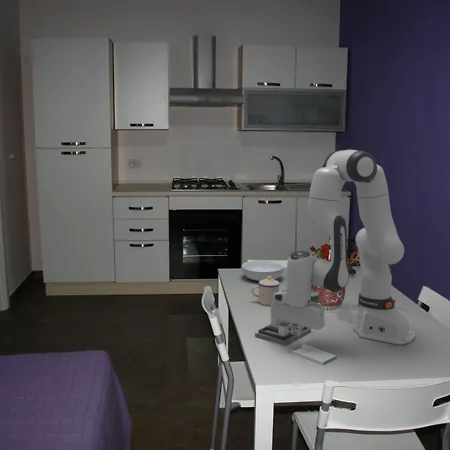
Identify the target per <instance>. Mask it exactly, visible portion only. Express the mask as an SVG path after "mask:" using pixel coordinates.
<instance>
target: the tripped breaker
mask: <svg viewBox="0 0 450 450" xmlns="http://www.w3.org/2000/svg"><path fill="white" fill-rule="evenodd" d="M288 333H289V323H285V322H282V323H280V324H279V329H278V335H279V336H283V337H285V336H287V335H288Z"/></svg>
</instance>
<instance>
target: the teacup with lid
mask: <svg viewBox="0 0 450 450" xmlns="http://www.w3.org/2000/svg"><path fill="white" fill-rule="evenodd" d="M280 285H281V284H280V282H279V280H277V279H275V280H274V279H272V277H271V276H267V278H266V279H264V280H260V281H258V285H254V286H252V288H251V294H252V296H253V297H255V298H258V303H259V304H260V305H264V306H271V304H272V301H273V300H274V299H273V294H275V293H277V292H279V291H280ZM255 289H258V294H255V293H254V290H255Z"/></svg>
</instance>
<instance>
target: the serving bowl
mask: <svg viewBox="0 0 450 450" xmlns="http://www.w3.org/2000/svg"><path fill="white" fill-rule="evenodd" d="M284 269H285V267H284V265H283V264H281V263H280V262H276V261H272V260H271V261H269V260H251V261H246V262H244V263H242V265H241V271H242V273H243V275H244V276H245V277H246V278H247V279H250V280H252V281H257V282H259V281H260V280H264V279H266V278H267V276H271V277H272V279H274V280H277V279H278V278H280V277H281V276H282V275H283V272H284Z"/></svg>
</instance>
